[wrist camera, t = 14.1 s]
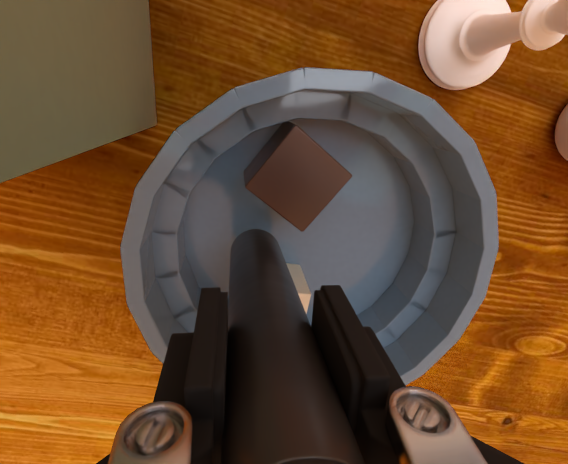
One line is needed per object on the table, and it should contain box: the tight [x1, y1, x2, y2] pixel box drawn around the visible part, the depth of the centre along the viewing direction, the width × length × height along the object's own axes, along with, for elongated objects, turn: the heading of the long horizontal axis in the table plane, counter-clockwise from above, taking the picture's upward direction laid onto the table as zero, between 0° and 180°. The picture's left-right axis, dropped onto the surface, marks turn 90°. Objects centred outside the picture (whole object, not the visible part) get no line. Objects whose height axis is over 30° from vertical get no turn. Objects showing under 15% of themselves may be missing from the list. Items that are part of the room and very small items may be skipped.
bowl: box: [120, 67, 499, 386], centre depth 20 cm, size 18×18×6 cm
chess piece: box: [418, 0, 568, 90], centre depth 15 cm, size 5×5×10 cm
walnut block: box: [244, 121, 352, 232], centre depth 18 cm, size 4×4×4 cm
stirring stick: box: [221, 229, 365, 464], centre depth 12 cm, size 3×3×14 cm
